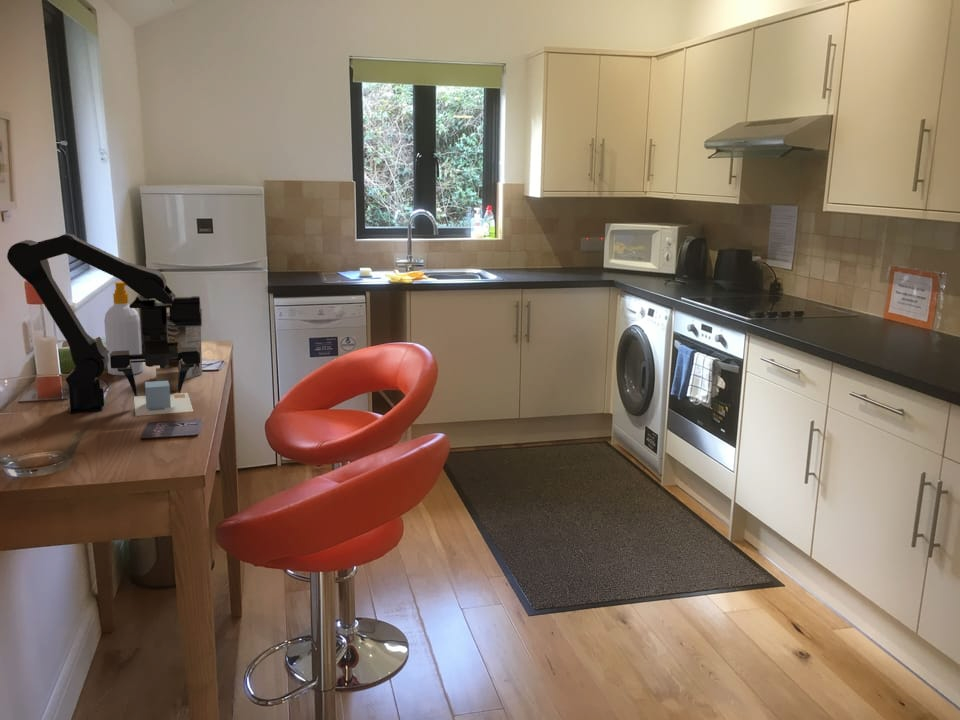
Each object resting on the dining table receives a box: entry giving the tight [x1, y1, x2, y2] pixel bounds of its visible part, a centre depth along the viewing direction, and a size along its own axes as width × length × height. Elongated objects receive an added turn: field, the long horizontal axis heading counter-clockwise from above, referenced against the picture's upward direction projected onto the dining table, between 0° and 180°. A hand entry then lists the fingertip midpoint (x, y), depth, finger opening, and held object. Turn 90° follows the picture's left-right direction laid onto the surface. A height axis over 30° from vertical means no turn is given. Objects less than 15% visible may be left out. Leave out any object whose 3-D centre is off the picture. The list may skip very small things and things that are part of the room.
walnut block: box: [155, 367, 179, 392], centre depth 201 cm, size 5×5×5 cm
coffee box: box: [159, 312, 203, 380], centre depth 213 cm, size 9×6×16 cm
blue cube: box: [144, 380, 171, 409], centre depth 187 cm, size 5×5×5 cm
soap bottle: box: [103, 281, 144, 377], centre depth 214 cm, size 9×9×24 cm
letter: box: [133, 392, 194, 417], centre depth 189 cm, size 12×16×1 cm
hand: (157, 394), depth 187 cm, fingers open, 9 cm apart
